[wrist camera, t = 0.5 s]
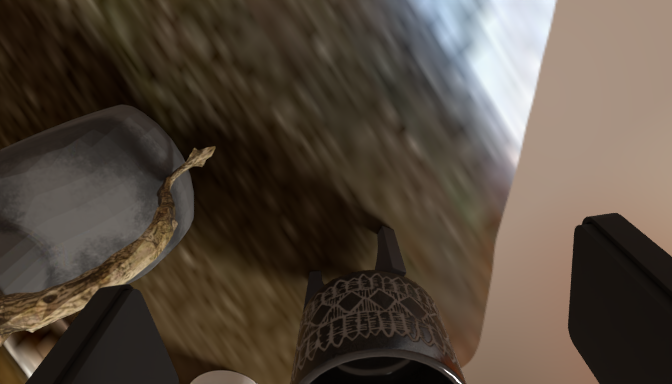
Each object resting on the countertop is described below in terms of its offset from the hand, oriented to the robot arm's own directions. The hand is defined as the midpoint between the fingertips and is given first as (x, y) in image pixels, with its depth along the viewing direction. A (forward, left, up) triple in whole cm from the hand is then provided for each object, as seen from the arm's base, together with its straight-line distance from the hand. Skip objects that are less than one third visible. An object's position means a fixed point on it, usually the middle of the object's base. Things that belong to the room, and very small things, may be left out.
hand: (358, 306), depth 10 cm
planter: (+21, -1, -31) cm, 38 cm away
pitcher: (+5, -19, -31) cm, 37 cm away
